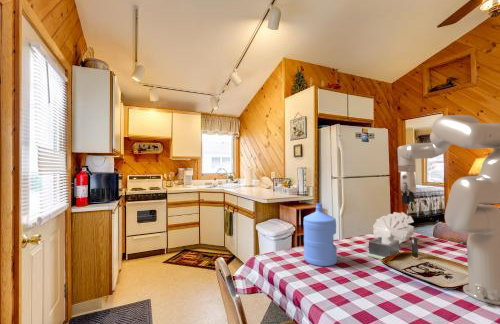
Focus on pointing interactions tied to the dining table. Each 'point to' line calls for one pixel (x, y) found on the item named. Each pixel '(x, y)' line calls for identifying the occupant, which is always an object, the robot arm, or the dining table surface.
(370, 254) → the board
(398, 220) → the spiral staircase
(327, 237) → the water jug
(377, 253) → the c link
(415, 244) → the stand
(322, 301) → the dining table surface
